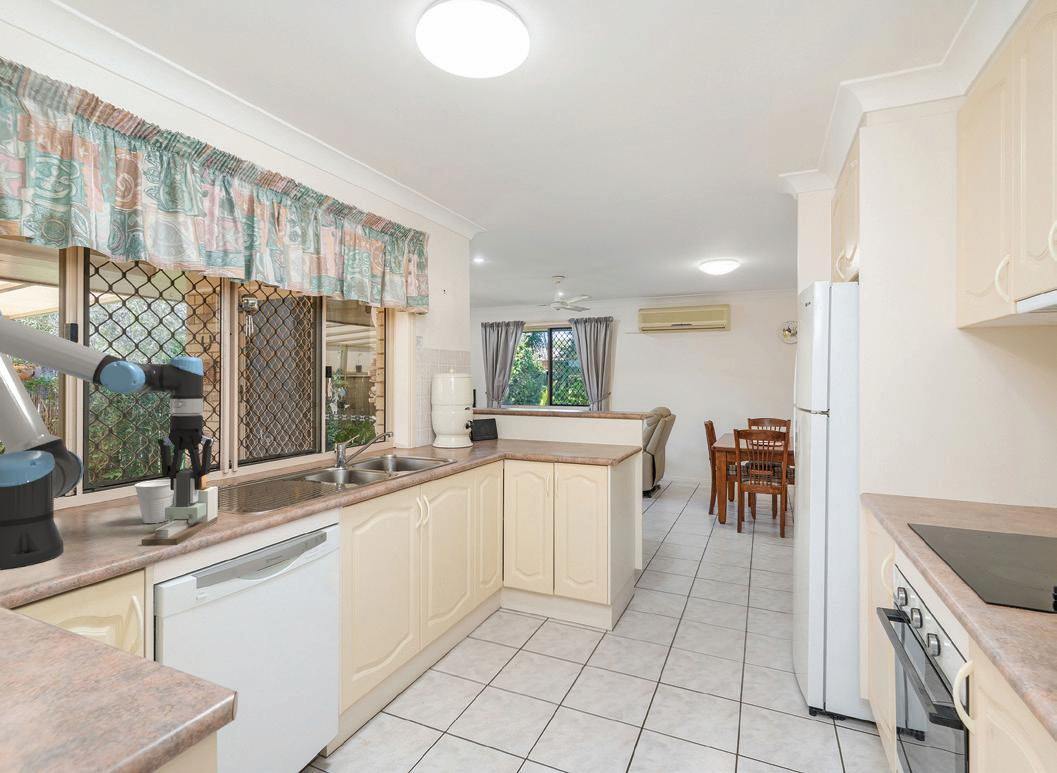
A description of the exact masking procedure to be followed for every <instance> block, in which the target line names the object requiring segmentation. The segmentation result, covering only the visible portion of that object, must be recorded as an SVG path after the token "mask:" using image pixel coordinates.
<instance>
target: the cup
mask: <svg viewBox="0 0 1057 773" xmlns="http://www.w3.org/2000/svg"><path fill="white" fill-rule="evenodd" d="M134 487H135V492H136V495H137V500H138V504H139V508H140V512H141V517H142V522H143V523H144V524H146V523H156V524H160V523H159V522H162V523H165V522H168V521H169V519H165V508H166V507H168V506H171V505H173V495H174V490H171V489H170V479H154V480H147V481H142V482H138V483H135V484H134ZM164 521H165V522H164Z"/></svg>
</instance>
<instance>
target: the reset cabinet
mask: <svg viewBox="0 0 1057 773" xmlns="http://www.w3.org/2000/svg"><path fill="white" fill-rule="evenodd" d="M218 490H219V486H206V489H205V490H203V491H198V501H197V502H196V503H206V515H204V516H202V519H200V520H198V522H208V521H210V520H212V519H214V518H215V517H217V516H218V512H219V511H218V507H219V506H218V501H219V500H218V499H219V496H218V495H219V493H218Z"/></svg>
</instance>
